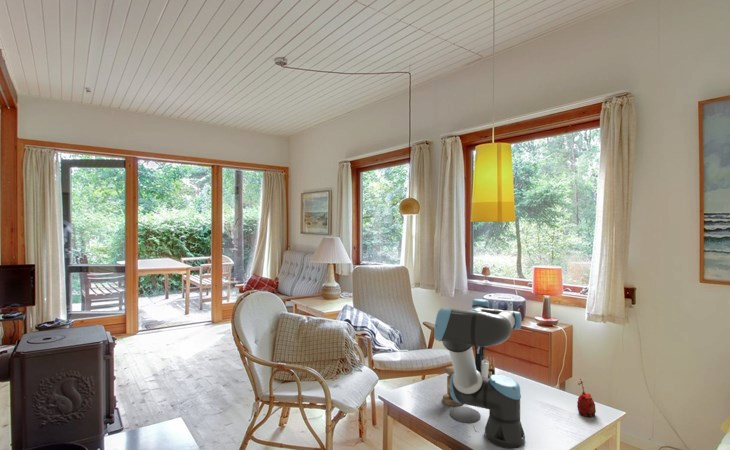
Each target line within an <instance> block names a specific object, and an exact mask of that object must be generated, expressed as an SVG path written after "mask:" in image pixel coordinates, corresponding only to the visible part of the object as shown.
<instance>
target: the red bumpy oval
mask: <svg viewBox="0 0 730 450" xmlns="http://www.w3.org/2000/svg"><path fill="white" fill-rule="evenodd" d="M579 380H580V381H578V382H577V385H579V386H580V385H581V386H582V387H581V388H582V393H581V394H580V395H579V396H578V398H577V403H576V404H577V405H576V406H577V411H578V413H579V414H580V415H581V416H582V417H585V418H587V417H589V418H591V417H595V416H596V412H597V410H596V404H595V401H594V400H593V396H592V395H591V394H590V393H586V392H585V387H584V384H583V383H585V382H586V381H582V378H579Z"/></svg>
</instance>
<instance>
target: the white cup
mask: <svg viewBox="0 0 730 450" xmlns="http://www.w3.org/2000/svg"><path fill="white" fill-rule="evenodd" d="M474 360H475V357H474ZM488 368H489V360H488V361H487V360H486V358H484V360H482V366H481V371H482V377H485V378H488ZM477 369H478V368H477Z"/></svg>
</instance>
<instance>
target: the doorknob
mask: <svg viewBox="0 0 730 450" xmlns="http://www.w3.org/2000/svg"><path fill="white" fill-rule="evenodd" d="M444 370H445V371H444V373H445V374H447V375H446V377H447V378H446V381H447V383H446V387H447V388H446V393H445V394H443V396H442V402H443V403H444V404H445V405H446V406H447V405H448V406H449V407H450V406H451V407H463V405H464V404H460V403H458V402H455V401H454V400H453V399H452V397H451V394H450V380H451V376H452V374H453V373H455V372H454V368H453V365H451V366H446V367H445V369H444Z"/></svg>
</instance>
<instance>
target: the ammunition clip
mask: <svg viewBox="0 0 730 450" xmlns="http://www.w3.org/2000/svg"><path fill="white" fill-rule="evenodd" d="M485 360H487V361H489V368H488V378H490V376H491V375H494V374H495V375H496V371H495V370H496V364H495V362H496V361H495V357H494V356H492V357H491V356H489V357H488V355H486V356H485Z"/></svg>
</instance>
